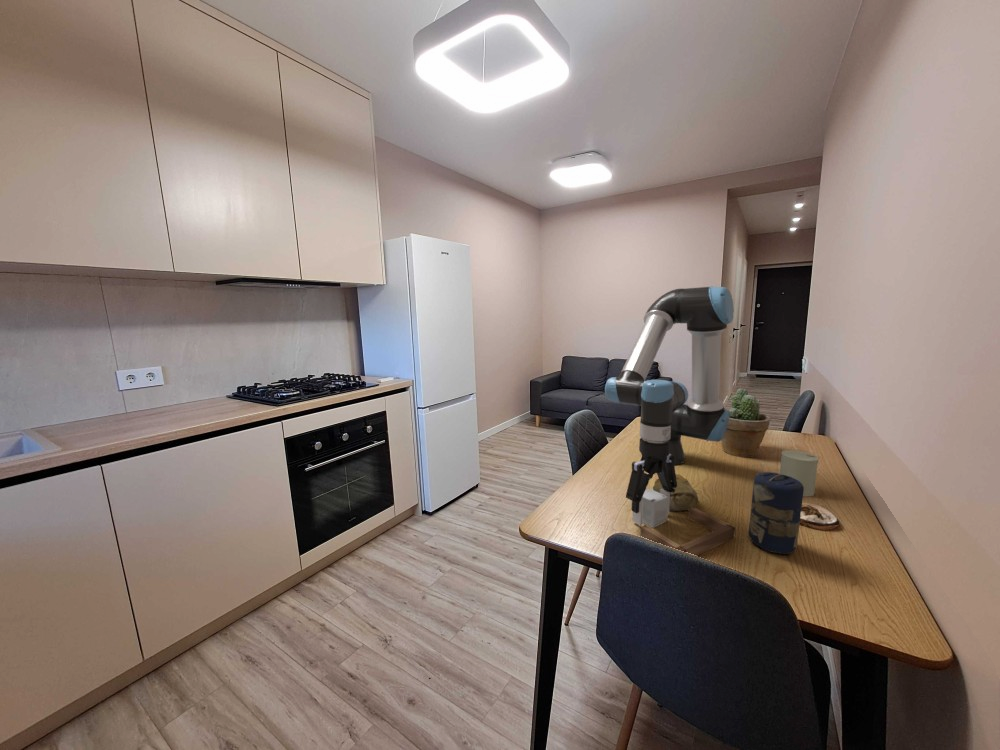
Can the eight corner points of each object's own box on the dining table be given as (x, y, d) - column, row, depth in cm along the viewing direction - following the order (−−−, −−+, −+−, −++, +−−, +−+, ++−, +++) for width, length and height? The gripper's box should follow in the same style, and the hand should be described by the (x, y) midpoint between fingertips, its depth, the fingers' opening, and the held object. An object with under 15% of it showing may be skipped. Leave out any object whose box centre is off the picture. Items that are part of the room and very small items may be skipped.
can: (821, 497, 114) (826, 460, 112) (787, 495, 116) (791, 458, 114) (803, 484, 123) (808, 449, 121) (772, 482, 125) (775, 447, 123)
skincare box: (648, 512, 107) (649, 487, 106) (667, 521, 102) (669, 496, 101) (634, 518, 104) (635, 493, 103) (653, 528, 99) (654, 502, 98)
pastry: (662, 487, 123) (663, 463, 121) (704, 499, 114) (705, 474, 113) (643, 503, 113) (644, 477, 111) (688, 518, 104) (689, 490, 103)
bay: (640, 537, 95) (640, 526, 94) (691, 517, 104) (692, 506, 104) (681, 563, 85) (681, 551, 84) (734, 538, 94) (735, 526, 94)
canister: (738, 534, 95) (744, 467, 93) (773, 532, 96) (781, 465, 93) (768, 558, 86) (776, 484, 83) (807, 556, 87) (816, 482, 84)
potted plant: (778, 460, 143) (785, 396, 139) (728, 461, 143) (734, 396, 139) (747, 444, 161) (752, 387, 157) (703, 444, 161) (707, 387, 157)
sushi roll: (836, 513, 106) (838, 499, 105) (851, 541, 93) (853, 525, 92) (771, 501, 113) (773, 488, 112) (777, 525, 100) (779, 510, 100)
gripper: (635, 450, 91) (631, 536, 94) (695, 435, 101) (689, 513, 105) (612, 441, 97) (610, 522, 101) (671, 428, 108) (666, 501, 111)
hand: (650, 517), depth 103 cm, fingers open, 10 cm apart
